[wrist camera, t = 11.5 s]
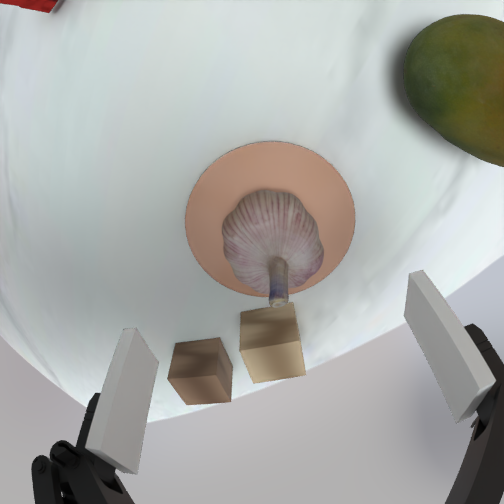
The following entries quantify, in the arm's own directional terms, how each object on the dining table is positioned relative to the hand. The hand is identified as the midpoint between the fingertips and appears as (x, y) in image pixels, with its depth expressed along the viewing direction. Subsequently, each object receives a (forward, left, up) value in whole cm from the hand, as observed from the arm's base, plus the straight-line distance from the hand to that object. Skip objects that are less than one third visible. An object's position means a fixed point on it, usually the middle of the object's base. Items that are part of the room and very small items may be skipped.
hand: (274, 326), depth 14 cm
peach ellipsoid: (0, 0, -12) cm, 12 cm away
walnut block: (-10, -14, -12) cm, 21 cm away
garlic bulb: (0, -1, -11) cm, 11 cm away
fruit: (+17, +9, -12) cm, 23 cm away
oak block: (-2, -11, -12) cm, 17 cm away
